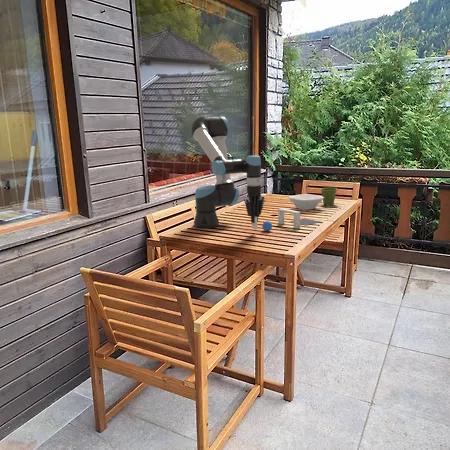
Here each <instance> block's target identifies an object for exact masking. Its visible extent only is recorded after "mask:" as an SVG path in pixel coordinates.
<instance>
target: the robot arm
mask: <svg viewBox="0 0 450 450" xmlns="http://www.w3.org/2000/svg"><path fill="white" fill-rule="evenodd" d="M230 129H231V128H230V123H229V120H228V119H227V118H226V117H225V116H220V115H213V116H205V115H204V116H203V115H202V116H199V117H197V118H195V119H194V120H193V121H192V123H191V125H190V135H191V136H192V138H193V139H194V141H195V142H198V144H199V146H200V147H201V148H202V150H203V151H204V153H205V154H206V156H207V157H208V159H209V160H210V162H211V167H210V168H211V171H212V173H213V175H215V179H216V182H215V183H214V185H211V184H210V185H203V186H199V187H197V188H196V189H195V191H194V192H195V193H194V194H195V195H194V198H195V217H194V220H193V227H195V228H197V229H211V228H217V227H219V226H220V221H219V217H218V215H217V209H216V208H217V207H219V208H220V207H226V206H227V207H228V206H232V205H236V204H237V203H238V200H239V198H240V190H239V188H238V186H237V185H235V182H234V181H233V180H232V179H231V174H232V175H234V174H244V173H245V174H246V185H247V186H246V193H247V196H246V198H244V199H243V201H244V204H245V208H246V213H247V216H248V217H250V222H251V228H252V229H254V230H256V229H257V230H258V222H259V217H260V216H261V214H262V210H263V206H264V204H263V200H265V197H264V196H263V195H262V193H261V192H262V162H261V156H260V155H248V156H246V157H245V158H244V157H243V158H234V159H228V153H227V152H228V151H227V145H226V140H227V139H228V136H229V134H230ZM262 196H263V197H262ZM262 205H263V206H262Z"/></svg>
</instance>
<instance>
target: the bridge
mask: <svg viewBox="0 0 450 450" xmlns="http://www.w3.org/2000/svg"><path fill="white" fill-rule="evenodd" d="M277 213H278V216H277V217H278V219H277V221H278V223H277V224H278V225H284V224H285V213H286V214H291V215H293V221H294V223H293V229H300V228H301V224H300V219H301V211H297V210H293V209H288V208H282V207H281V208H278V211H277Z"/></svg>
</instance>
